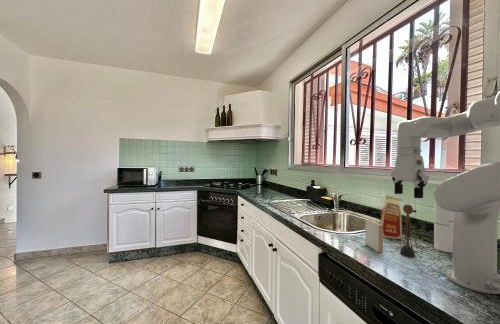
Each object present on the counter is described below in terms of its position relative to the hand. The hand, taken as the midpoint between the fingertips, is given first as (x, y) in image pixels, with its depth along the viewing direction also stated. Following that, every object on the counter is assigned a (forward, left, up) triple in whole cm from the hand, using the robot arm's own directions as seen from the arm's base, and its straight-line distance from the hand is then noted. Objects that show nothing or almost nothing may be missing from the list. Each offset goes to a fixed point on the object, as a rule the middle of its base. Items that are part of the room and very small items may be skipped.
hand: (408, 195), depth 87 cm
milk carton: (+22, -10, -24) cm, 34 cm away
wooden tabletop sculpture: (0, 0, -24) cm, 24 cm away
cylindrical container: (+4, -20, -24) cm, 31 cm away
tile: (+8, +9, -23) cm, 26 cm away
